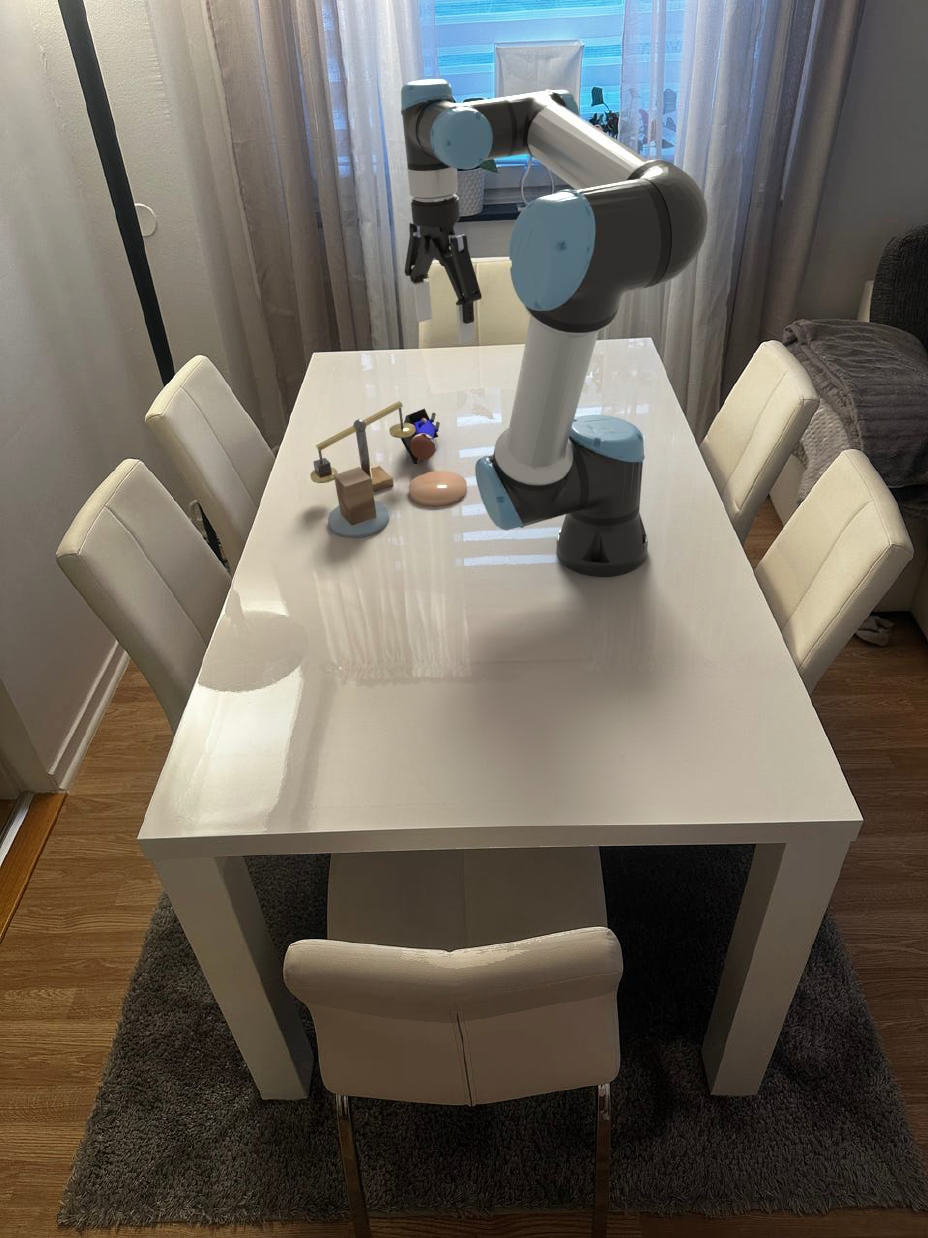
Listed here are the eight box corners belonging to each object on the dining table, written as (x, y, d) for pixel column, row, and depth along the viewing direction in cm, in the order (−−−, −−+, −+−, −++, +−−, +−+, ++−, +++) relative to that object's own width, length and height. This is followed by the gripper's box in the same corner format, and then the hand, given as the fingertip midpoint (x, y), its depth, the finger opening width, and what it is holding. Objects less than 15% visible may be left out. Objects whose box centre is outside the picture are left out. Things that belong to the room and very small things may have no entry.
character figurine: (443, 435, 188) (434, 471, 176) (409, 433, 188) (398, 469, 177) (443, 401, 183) (434, 435, 171) (408, 399, 183) (396, 433, 172)
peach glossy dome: (477, 494, 168) (477, 488, 167) (426, 512, 164) (425, 506, 163) (449, 470, 175) (448, 465, 174) (399, 487, 171) (398, 481, 171)
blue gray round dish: (399, 524, 161) (398, 519, 160) (343, 544, 157) (342, 538, 156) (373, 499, 168) (372, 493, 168) (319, 517, 165) (318, 511, 164)
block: (376, 517, 161) (371, 478, 156) (351, 525, 159) (345, 486, 154) (365, 505, 165) (359, 466, 160) (340, 513, 163) (333, 475, 158)
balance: (425, 474, 175) (418, 404, 165) (322, 508, 167) (308, 437, 158) (411, 462, 179) (403, 393, 170) (310, 495, 171) (296, 424, 162)
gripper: (499, 204, 131) (505, 344, 144) (414, 179, 149) (426, 306, 162) (457, 214, 129) (466, 356, 142) (375, 187, 146) (390, 316, 159)
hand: (445, 330), depth 152 cm, fingers open, 13 cm apart
